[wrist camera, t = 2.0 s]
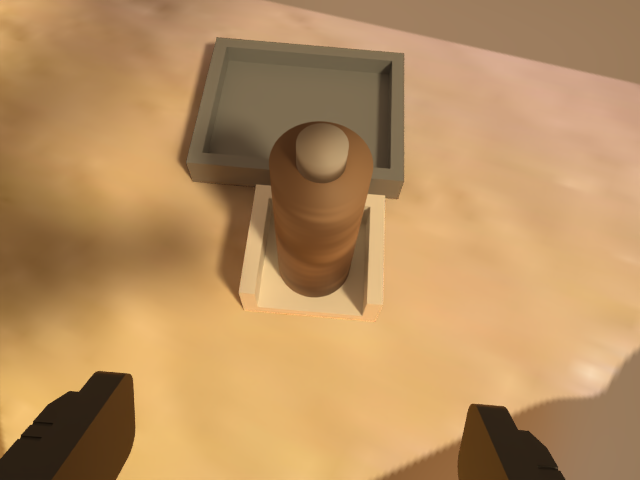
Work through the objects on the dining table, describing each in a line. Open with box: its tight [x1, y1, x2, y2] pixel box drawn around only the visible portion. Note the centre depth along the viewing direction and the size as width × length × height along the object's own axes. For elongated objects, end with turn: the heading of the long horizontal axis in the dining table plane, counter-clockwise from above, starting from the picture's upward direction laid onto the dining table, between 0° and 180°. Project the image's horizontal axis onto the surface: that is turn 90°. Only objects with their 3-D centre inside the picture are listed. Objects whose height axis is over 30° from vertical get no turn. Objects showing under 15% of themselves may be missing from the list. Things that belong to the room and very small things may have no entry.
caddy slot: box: [239, 184, 385, 322], centre depth 34 cm, size 9×8×4 cm
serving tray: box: [186, 37, 404, 199], centre depth 40 cm, size 16×13×2 cm
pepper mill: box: [269, 121, 373, 297], centre depth 28 cm, size 5×5×13 cm
